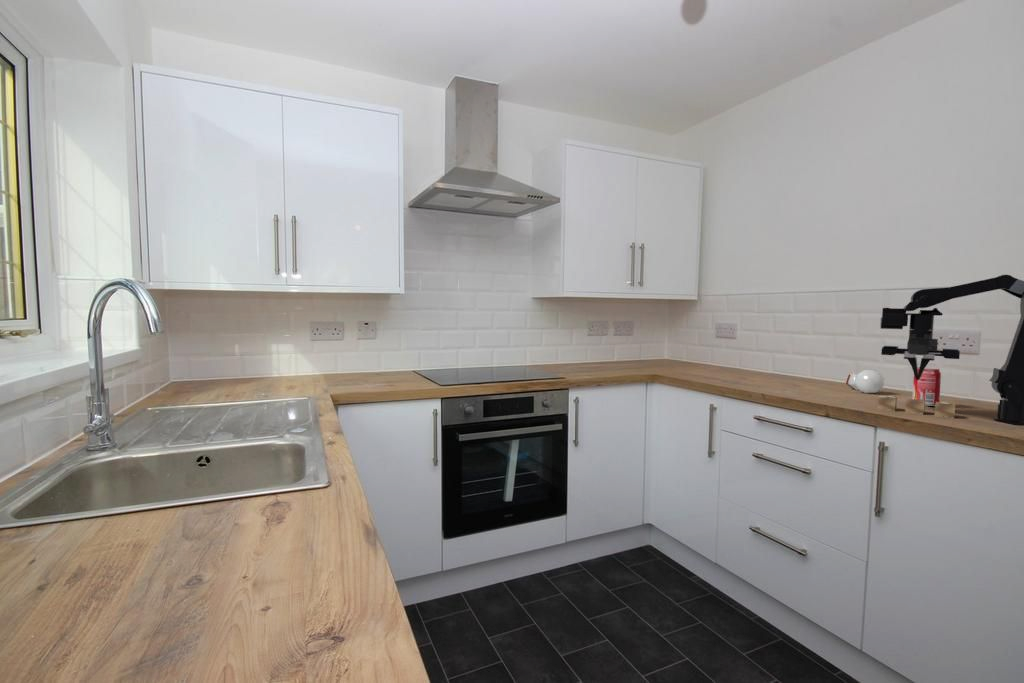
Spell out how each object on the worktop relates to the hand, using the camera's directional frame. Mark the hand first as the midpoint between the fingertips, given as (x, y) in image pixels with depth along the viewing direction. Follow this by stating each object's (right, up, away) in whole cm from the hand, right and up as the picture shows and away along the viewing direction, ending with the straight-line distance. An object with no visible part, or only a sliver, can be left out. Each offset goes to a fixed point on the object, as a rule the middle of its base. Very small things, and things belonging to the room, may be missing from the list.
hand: (917, 379), depth 156 cm
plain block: (0, -11, +1) cm, 11 cm away
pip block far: (-6, -10, +5) cm, 13 cm away
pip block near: (+5, -11, -4) cm, 13 cm away
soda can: (+14, -10, +14) cm, 22 cm away
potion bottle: (+13, -8, +43) cm, 46 cm away
